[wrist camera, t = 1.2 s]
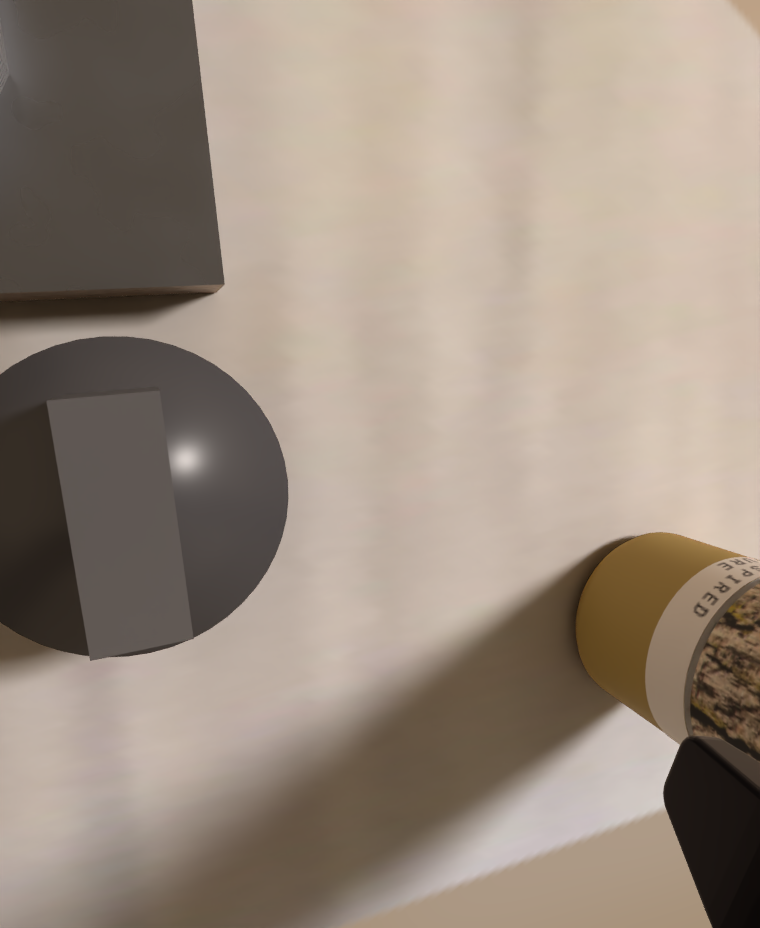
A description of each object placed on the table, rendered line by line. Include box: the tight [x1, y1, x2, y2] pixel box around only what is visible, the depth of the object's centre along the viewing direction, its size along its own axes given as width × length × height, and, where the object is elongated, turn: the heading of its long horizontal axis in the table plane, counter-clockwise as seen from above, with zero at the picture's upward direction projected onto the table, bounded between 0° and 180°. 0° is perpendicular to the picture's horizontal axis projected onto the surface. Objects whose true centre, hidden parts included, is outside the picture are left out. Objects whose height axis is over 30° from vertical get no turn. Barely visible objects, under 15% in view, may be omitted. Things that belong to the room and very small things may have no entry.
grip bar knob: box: [0, 337, 288, 661], centre depth 15 cm, size 8×8×6 cm
